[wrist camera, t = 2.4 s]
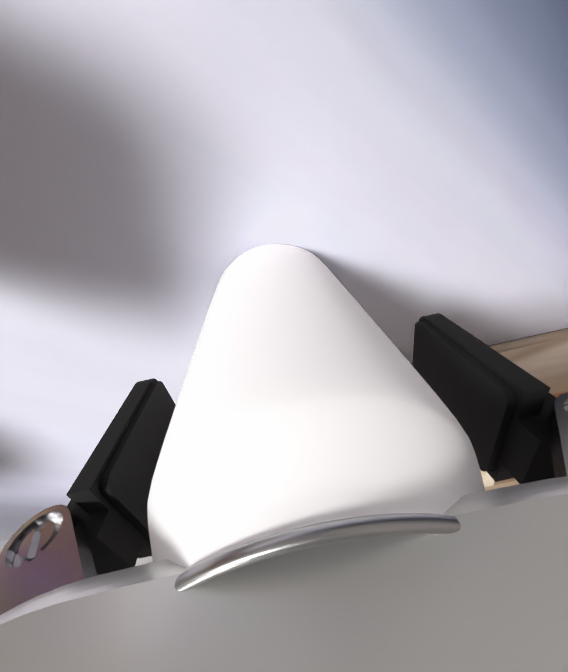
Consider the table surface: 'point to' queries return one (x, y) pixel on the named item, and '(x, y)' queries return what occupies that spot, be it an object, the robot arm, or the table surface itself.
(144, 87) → the table surface
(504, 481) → the slot rack
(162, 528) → the can
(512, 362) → the robot arm
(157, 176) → the table surface
